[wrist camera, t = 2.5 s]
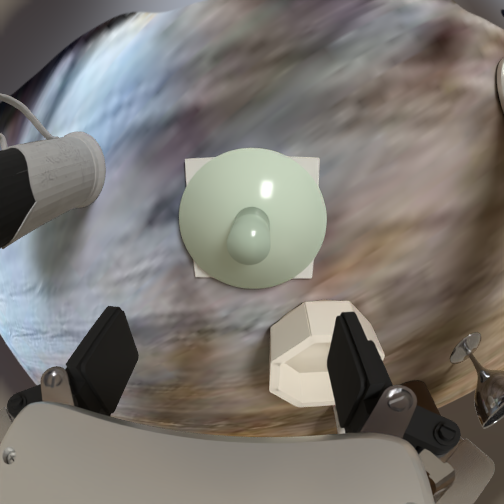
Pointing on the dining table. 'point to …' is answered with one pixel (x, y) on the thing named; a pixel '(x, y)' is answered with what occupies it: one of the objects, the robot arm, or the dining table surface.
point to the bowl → (308, 352)
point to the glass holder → (45, 178)
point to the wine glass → (483, 382)
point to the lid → (252, 218)
